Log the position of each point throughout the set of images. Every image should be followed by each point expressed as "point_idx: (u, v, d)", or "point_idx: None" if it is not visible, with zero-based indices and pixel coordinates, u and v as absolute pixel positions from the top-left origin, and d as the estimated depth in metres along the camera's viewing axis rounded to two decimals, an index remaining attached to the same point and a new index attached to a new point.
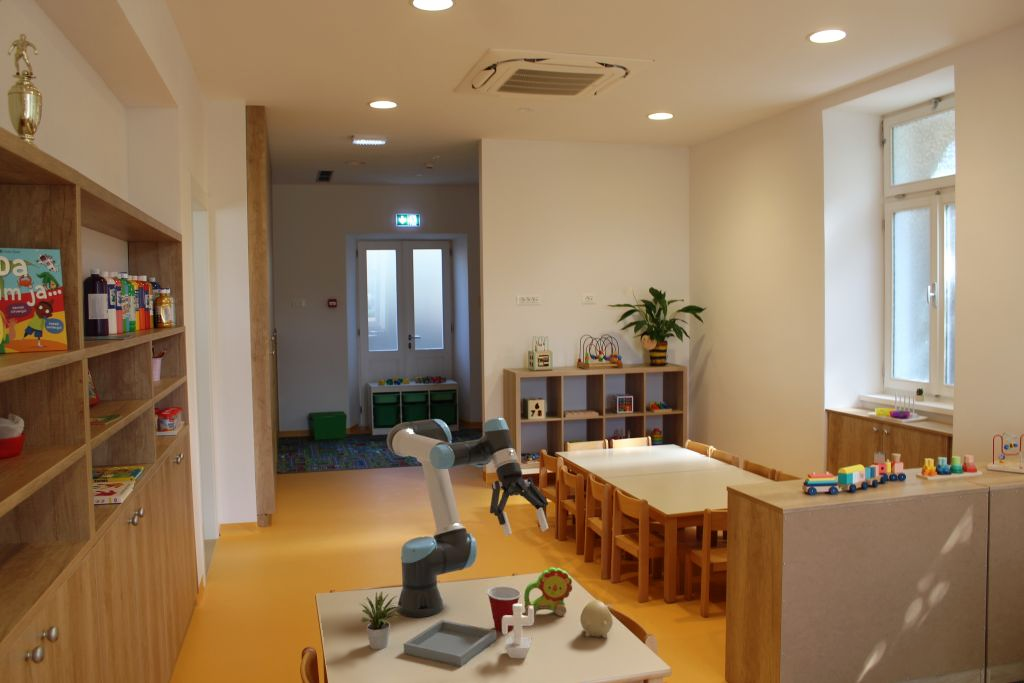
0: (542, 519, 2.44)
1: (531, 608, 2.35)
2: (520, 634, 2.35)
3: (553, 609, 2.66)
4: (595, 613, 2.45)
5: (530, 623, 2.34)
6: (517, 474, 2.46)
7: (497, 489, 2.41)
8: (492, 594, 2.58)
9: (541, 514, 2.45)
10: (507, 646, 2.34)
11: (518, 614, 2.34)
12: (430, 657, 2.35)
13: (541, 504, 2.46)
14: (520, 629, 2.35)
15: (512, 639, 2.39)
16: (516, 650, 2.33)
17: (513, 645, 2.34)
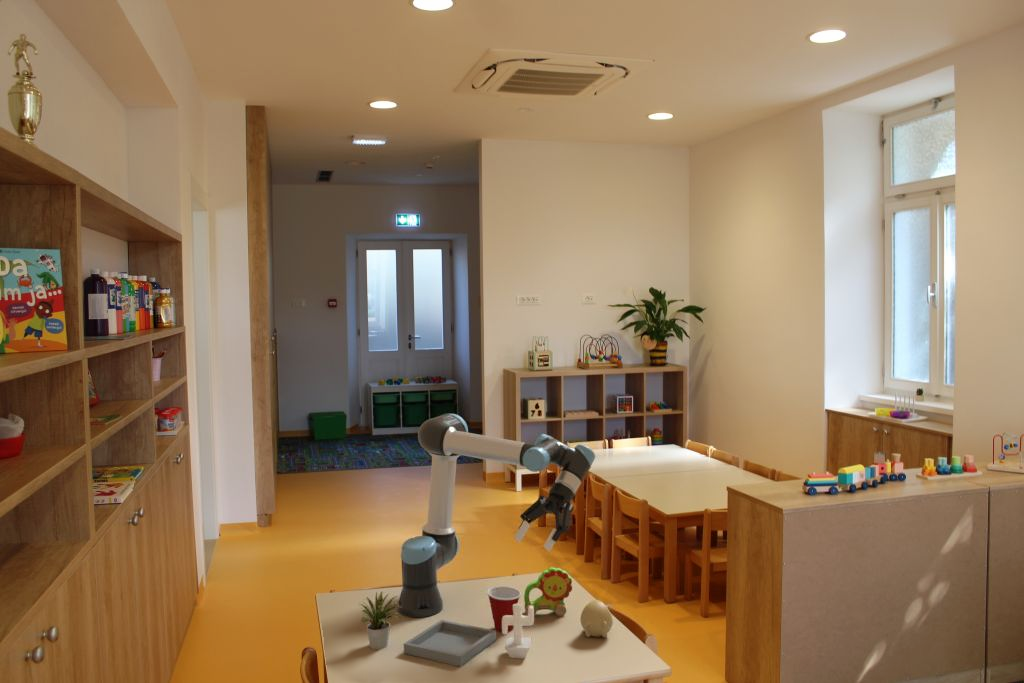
0: (523, 533, 2.58)
1: (531, 608, 2.35)
2: (520, 634, 2.35)
3: (553, 609, 2.66)
4: (595, 613, 2.45)
5: (530, 623, 2.34)
6: None
7: None
8: (492, 594, 2.58)
9: (526, 529, 2.59)
10: (507, 646, 2.34)
11: (518, 614, 2.34)
12: (430, 657, 2.35)
13: None
14: (520, 629, 2.35)
15: (512, 639, 2.39)
16: (516, 650, 2.33)
17: (513, 645, 2.34)
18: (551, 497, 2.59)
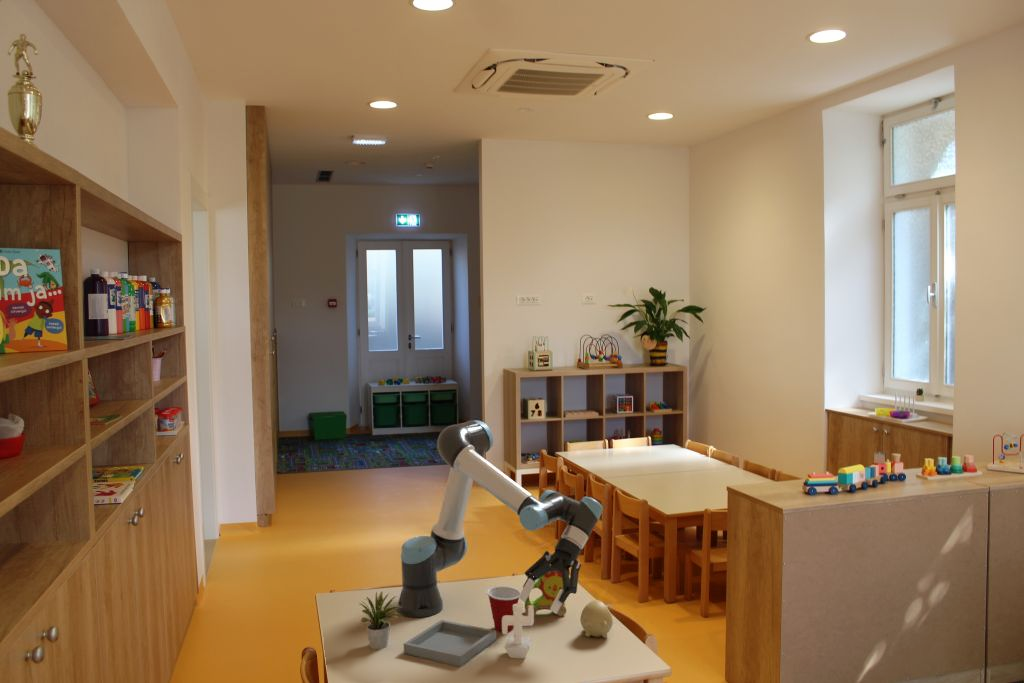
0: (528, 592, 2.46)
1: (531, 608, 2.35)
2: (520, 634, 2.35)
3: None
4: (595, 613, 2.45)
5: (530, 623, 2.34)
6: None
7: None
8: (492, 594, 2.58)
9: (531, 588, 2.47)
10: (507, 646, 2.34)
11: (518, 614, 2.34)
12: (430, 657, 2.35)
13: None
14: (520, 629, 2.35)
15: (512, 639, 2.39)
16: (516, 650, 2.33)
17: (513, 645, 2.34)
18: (557, 553, 2.48)
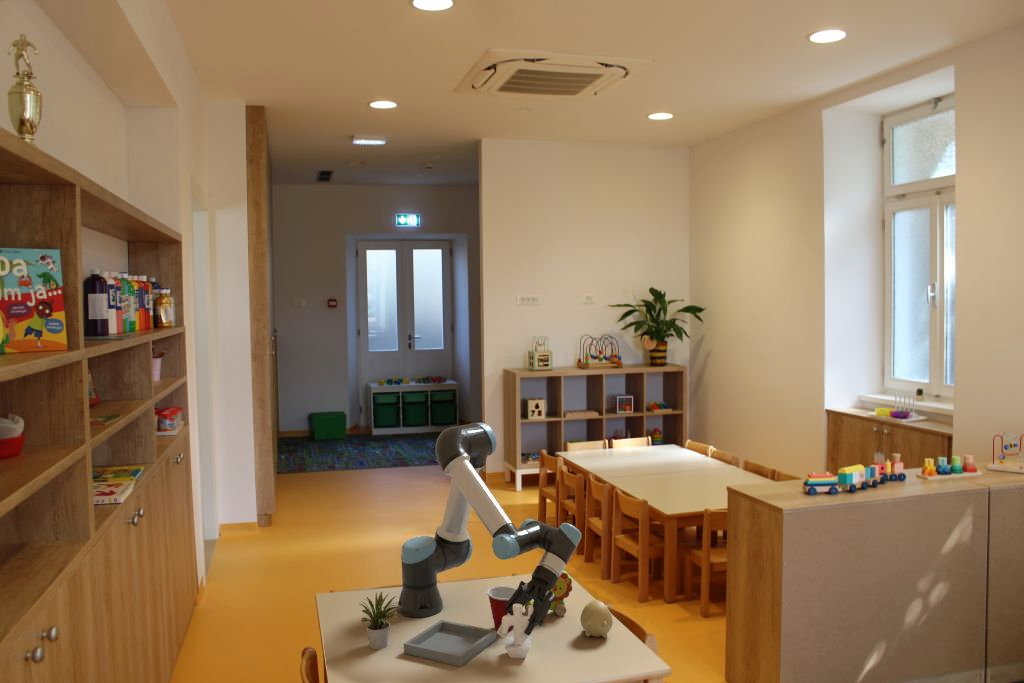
0: None
1: (531, 608, 2.34)
2: None
3: (553, 609, 2.66)
4: (595, 613, 2.45)
5: None
6: None
7: None
8: (492, 594, 2.58)
9: None
10: (507, 646, 2.34)
11: (518, 614, 2.34)
12: (430, 657, 2.35)
13: None
14: (520, 629, 2.35)
15: (512, 639, 2.39)
16: (516, 650, 2.33)
17: (513, 645, 2.34)
18: (534, 581, 2.43)
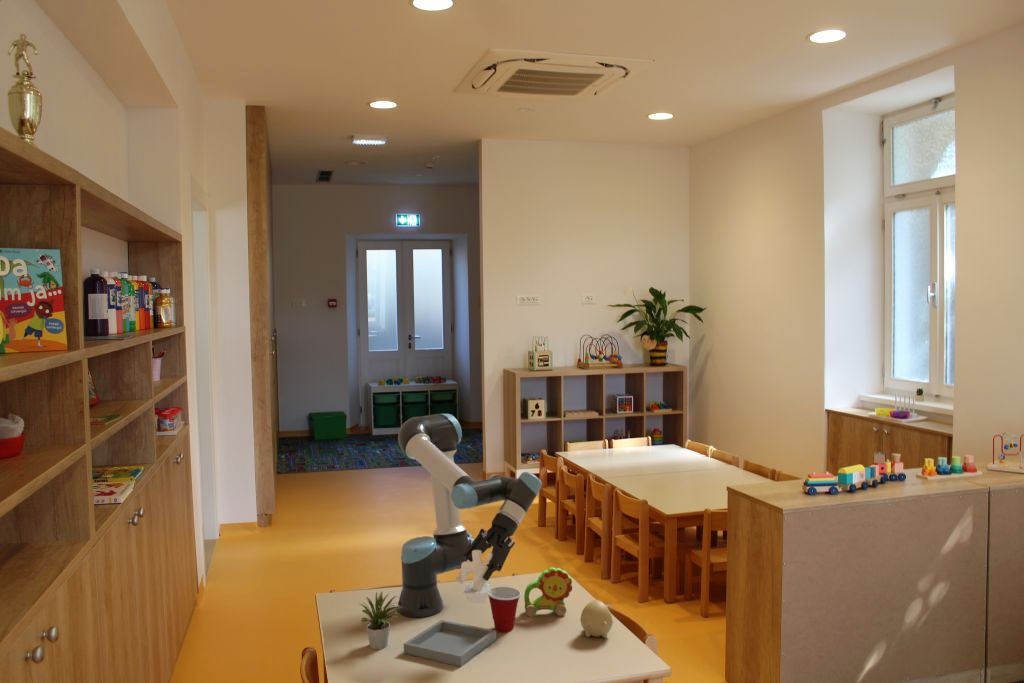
0: None
1: (490, 554, 2.37)
2: None
3: (553, 609, 2.66)
4: (595, 613, 2.45)
5: None
6: None
7: None
8: (492, 594, 2.58)
9: None
10: (466, 591, 2.36)
11: (477, 560, 2.36)
12: (430, 657, 2.35)
13: None
14: (479, 575, 2.37)
15: (471, 584, 2.41)
16: (475, 595, 2.35)
17: (472, 590, 2.36)
18: (494, 528, 2.45)
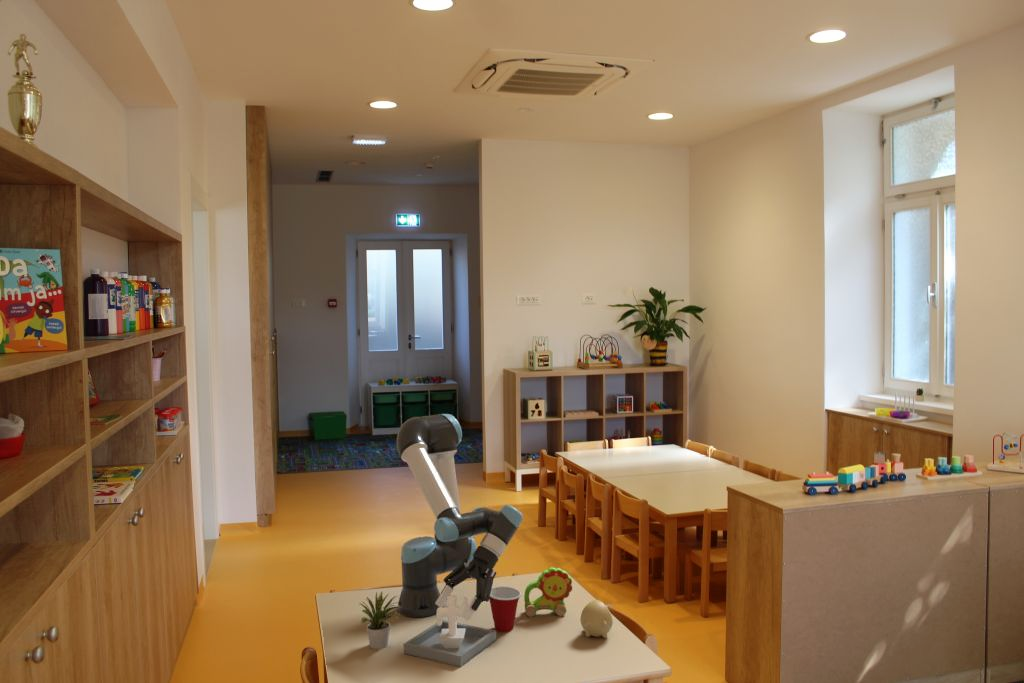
0: (445, 598, 2.49)
1: (465, 599, 2.41)
2: (454, 625, 2.41)
3: (553, 609, 2.66)
4: (595, 613, 2.45)
5: None
6: None
7: None
8: (492, 594, 2.58)
9: (449, 594, 2.50)
10: (442, 637, 2.40)
11: (452, 606, 2.41)
12: (430, 657, 2.35)
13: None
14: (454, 620, 2.41)
15: (446, 630, 2.45)
16: (451, 640, 2.39)
17: (448, 636, 2.41)
18: (475, 561, 2.50)
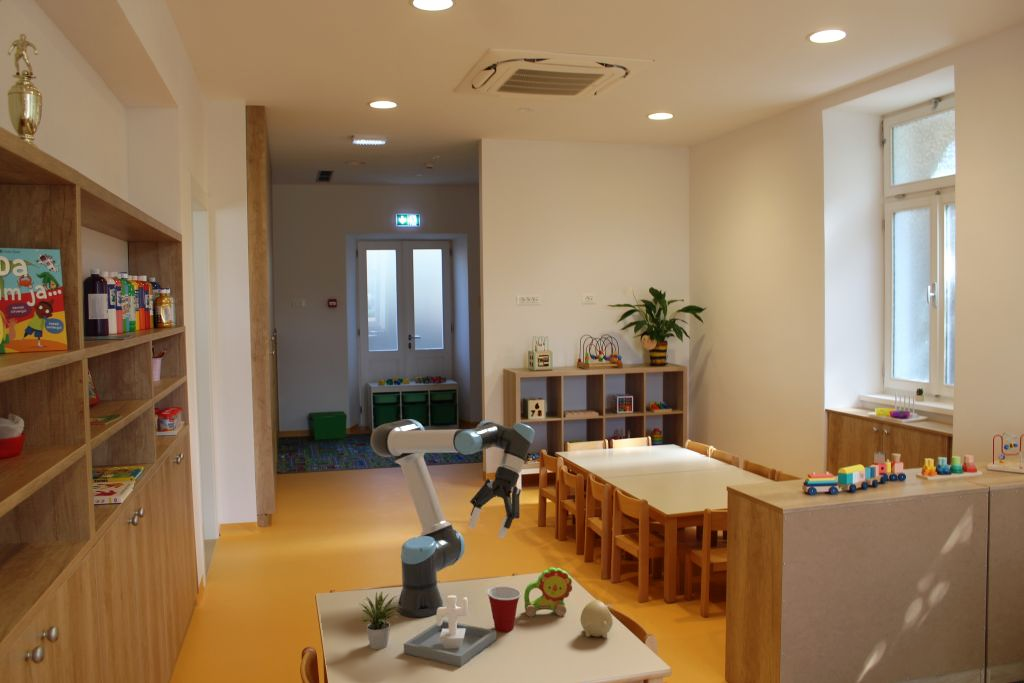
0: (476, 519, 2.63)
1: (465, 599, 2.41)
2: (454, 625, 2.41)
3: (553, 609, 2.66)
4: (595, 613, 2.45)
5: (464, 614, 2.41)
6: None
7: None
8: (492, 594, 2.58)
9: (478, 515, 2.64)
10: (442, 637, 2.40)
11: (452, 606, 2.41)
12: (430, 657, 2.35)
13: None
14: (454, 620, 2.41)
15: (446, 630, 2.45)
16: (451, 640, 2.39)
17: (448, 636, 2.41)
18: (498, 481, 2.63)
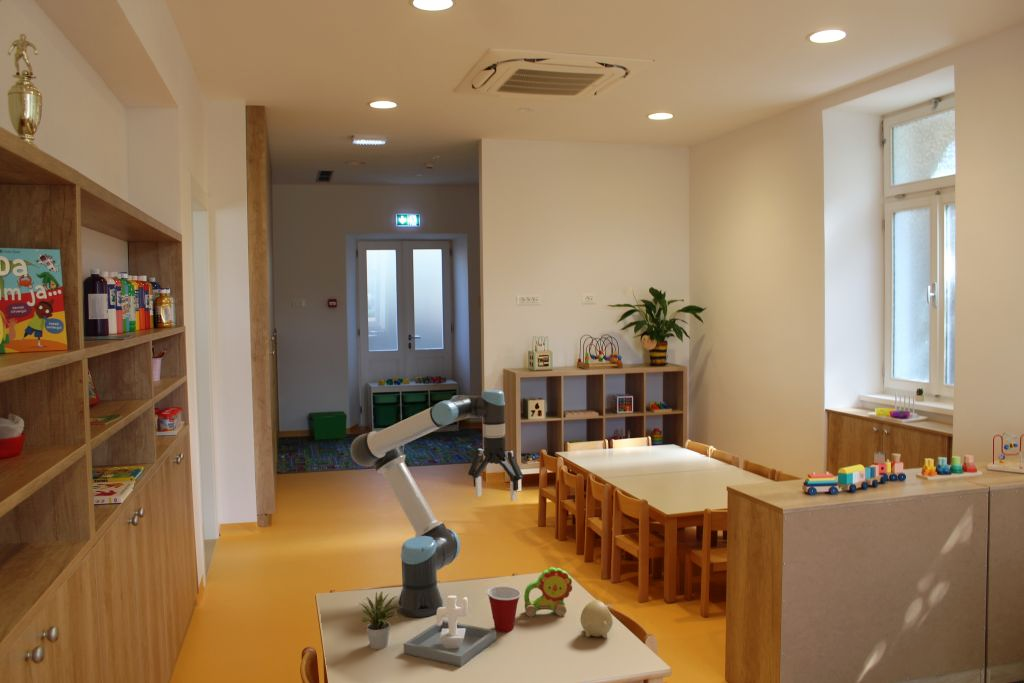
0: (480, 487, 2.78)
1: (465, 599, 2.41)
2: (454, 625, 2.41)
3: (553, 609, 2.66)
4: (595, 613, 2.45)
5: (464, 614, 2.41)
6: None
7: None
8: (492, 594, 2.58)
9: (480, 482, 2.78)
10: (442, 637, 2.40)
11: (452, 606, 2.41)
12: (430, 657, 2.35)
13: None
14: (454, 620, 2.41)
15: (446, 630, 2.45)
16: (451, 640, 2.39)
17: (448, 636, 2.41)
18: (488, 449, 2.74)
